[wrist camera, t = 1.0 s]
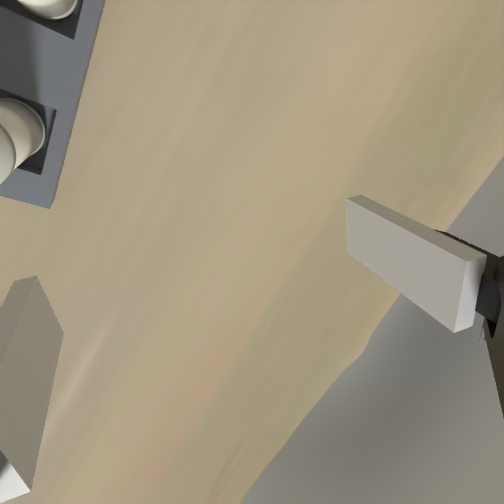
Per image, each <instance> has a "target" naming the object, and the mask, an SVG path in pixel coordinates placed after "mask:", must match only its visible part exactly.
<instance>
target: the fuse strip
mask: <svg viewBox="0 0 504 504" xmlns="http://www.w3.org/2000/svg"><path fill="white" fill-rule="evenodd" d="M104 4H105V0H79V3H78V6H77V8H76V10H75V11H74V13H73V14H72V15H71V16H69V17H68V18H66V19H64V20H60V21H49V20H45V19H42V18H39V17H37V16H36V15H34V14H32V13H31V12H30V11H28V10H27V9H26V8H25V7H23V6H22V5H21V4H20V3H19V1H17V0H0V98H16V99H20V100H23V101H25V102H27V103H29V104H30V105H32V106H33V107H34V108H35V109H36V110H37V111H38V112H39V113H40V114H41V116H42V117H43V119H44V121H45V124H46V128H47V136H46V140H45V143H44V144H43V146H42V147H41V148H40V149H39V150H38V151H37V152H35V153H34V154H32V155H30V156H29V157H28V158H27V159H25V160H24V161H23V162H22V163H21V164H20V165H19V166H17V167H16V168H15V169H14V170H13V171H12V173H11V174H10V176H9V177H8V178H7V179H5V180H4V181H3V182H2V183H1V184H0V196H4V197H8V198H11V199H15V200H19V201H23V202H26V203H30V204H34V205H38V206H41V207H45V208H49V209H50V207H51V205H52V203H53V201H54V198H55V194H56V190H57V186H58V182H59V178H60V175H61V171H62V167H63V163H64V159H65V155H66V151H67V147H68V144H69V140H70V136H71V132H72V128H73V124H74V120H75V116H76V113H77V109H78V105H79V101H80V97H81V93H82V89H83V85H84V82H85V78H86V74H87V70H88V66H89V62H90V58H91V54H92V51H93V47H94V43H95V39H96V35H97V31H98V27H99V23H100V19H101V16H102V12H103V8H104Z"/></svg>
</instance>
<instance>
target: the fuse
mask: <svg viewBox="0 0 504 504" xmlns="http://www.w3.org/2000/svg"><path fill="white" fill-rule="evenodd" d="M46 136H47V128H46V124H45V121H44V119H43V117H42V116H41V114H40V113H39V112H38V111H37V110H36V109H35V108H34V107H33V106H32V105H30V104H29V103H27V102H25V101H23V100H20V99H16V98H0V184H1V183H2V182H3V181H4V180H5V179H7V178H8V177H9V176H10V174H11V173H12V171H13V170H14V169H15V168H16V167H17V166H19V165H20V164H21V163H22V162H23V161H24V160H25V159H27V158H28V157H29V156H30V155H32V154H34V153H35V152H37V151H38V150H39V149H40V148H41V147H42V146H43V144H44V143H45V140H46Z"/></svg>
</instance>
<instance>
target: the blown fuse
mask: <svg viewBox="0 0 504 504" xmlns="http://www.w3.org/2000/svg"><path fill="white" fill-rule="evenodd" d="M17 1H19V3H20V4H21V5H22V6H23V7H25V8H26V9H27V10H28V11H30V12H31V13H32V14H34V15H36V16H37V17H39V18H42V19H45V20H49V21H60V20H64V19H66V18H68V17H69V16H71V15H72V14H73V13H74V11H75V10H76V8H77V6H78V3H79V0H17Z"/></svg>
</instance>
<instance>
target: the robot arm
mask: <svg viewBox="0 0 504 504" xmlns="http://www.w3.org/2000/svg"><path fill="white" fill-rule="evenodd" d="M347 252H348V253H349V254H351V255H352V256H353V257H354V258H356V259H357V260H358V261H360V262H361V263H362V264H364V265H365V266H366V267H368V268H369V269H370V270H372V271H373V272H374V273H376V274H377V275H378V276H380V277H381V278H382V279H384V280H385V281H386V282H387V283H389V284H390V285H391V286H393V287H394V288H395V289H397V290H398V291H399V292H401V293H402V294H403V295H405V296H406V297H407V298H409V299H410V300H411V301H413V302H414V303H415V304H417V305H418V306H419V307H420V308H422V309H423V310H424V311H426V312H427V313H429V314H430V315H431V316H432V317H434V318H435V319H437V320H438V321H439V322H440V323H442V324H443V325H444V326H446V327H447V328H448V329H450V330H451V331H452V332H453V333H455V332H458V331H460V330H463V329H465V328H468V327H471V326H472V325H473V320H474V315H475V311H476V312H478V313H480V314H481V315H483V316H484V317H485V318H484V323H483V327H482V331H481V335H480V340H479V344H483V341H484V340H485V339H486V342H487V347H488V351H489V356H490V360H491V364H492V369H493V373H494V377H495V382H496V386H497V390H498V395H499V399H500V404H501V408H502V412H503V416H504V256H502V257H498V256H496V255H493V254H491V253H489V252H487V251H485V250H483V249H481V248H479V247H477V246H474V245H472V244H468V242H466V241H464V240H461V239H460V240H459V238H457V237H455V236H453V235H451V234H449V233H446V232H442V231H438V230H434V229H431V228H429V227H427V226H425V225H423V224H421V223H419V222H417V221H415V220H413V219H410V218H408V217H406V216H404V215H402V214H400V213H398V212H396V211H394V210H392V209H390V208H388V207H385V206H383V205H381V204H379V203H377V202H375V201H373V200H371V199H369V198H367V197H365V196H363V195H359V196H355V197H351V198H347ZM63 333H64V332H63V330H62V328H61V326H60V324H59V322H58V320H57V318H56V315H55V313H54V311H53V309H52V307H51V305H50V303H49V301H48V299H47V296H46V294H45V292H44V290H43V288H42V286H41V284H40V282H39V280H38V277H37V276H33V277H29V278H25V279H21V280H17V281H14V282H13V284H12V286H11V288H10V290H9V292H8V294H7V296H6V298H5V300H4V302H3V304H2V306H1V308H0V503H1V502H4V501H7V500H9V499H12V498H15V497H17V496H20V495H23V494H25V493H28V492H31V488H32V483H33V478H34V473H35V468H36V463H37V459H38V454H39V449H40V444H41V439H42V435H43V430H44V425H45V420H46V415H47V410H48V406H49V401H50V396H51V391H52V386H53V381H54V377H55V372H56V367H57V362H58V357H59V352H60V348H61V343H62V338H63Z"/></svg>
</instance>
